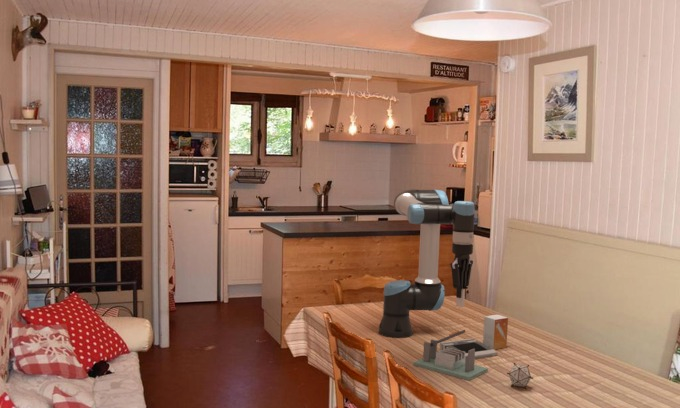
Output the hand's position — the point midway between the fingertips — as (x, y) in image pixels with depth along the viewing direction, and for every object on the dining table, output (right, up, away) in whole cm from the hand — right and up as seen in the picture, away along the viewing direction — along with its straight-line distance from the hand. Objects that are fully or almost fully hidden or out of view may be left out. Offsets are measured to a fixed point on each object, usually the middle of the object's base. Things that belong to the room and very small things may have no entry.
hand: (460, 306), depth 247 cm
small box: (+21, -23, +33) cm, 45 cm away
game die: (+18, -26, -14) cm, 35 cm away
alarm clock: (+8, -24, +25) cm, 35 cm away
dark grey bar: (-4, -14, +4) cm, 15 cm away
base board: (-3, -24, +4) cm, 25 cm away
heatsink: (-3, -24, +4) cm, 25 cm away
